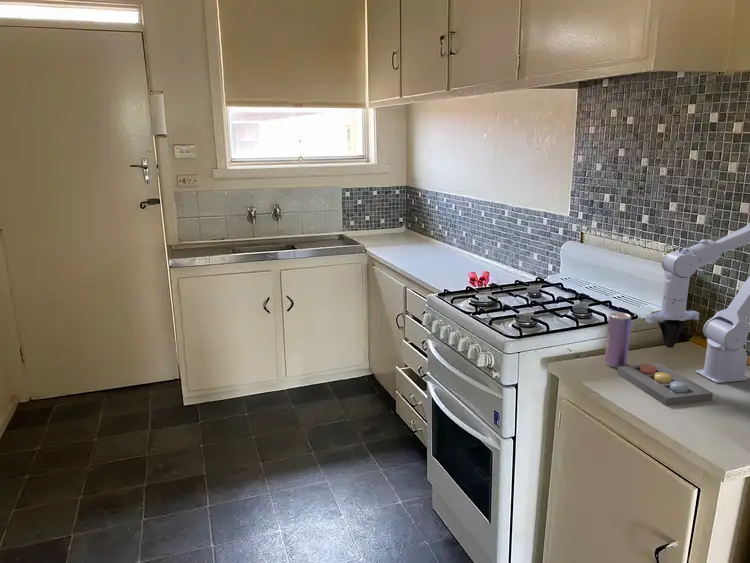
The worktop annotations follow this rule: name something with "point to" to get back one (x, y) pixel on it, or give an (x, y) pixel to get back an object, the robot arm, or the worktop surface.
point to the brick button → (647, 369)
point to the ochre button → (662, 377)
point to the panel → (664, 385)
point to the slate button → (678, 387)
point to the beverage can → (617, 339)
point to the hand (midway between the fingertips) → (668, 346)
